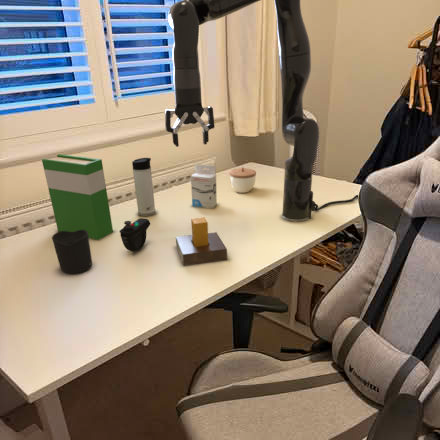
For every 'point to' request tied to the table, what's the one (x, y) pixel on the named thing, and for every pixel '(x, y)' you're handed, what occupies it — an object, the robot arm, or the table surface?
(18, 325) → the table surface
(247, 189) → the trinket box
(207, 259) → the walnut stand
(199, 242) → the ochre peg
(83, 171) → the hardback book
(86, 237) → the pen holder
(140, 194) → the travel mug
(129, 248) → the controller
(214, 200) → the ink box
